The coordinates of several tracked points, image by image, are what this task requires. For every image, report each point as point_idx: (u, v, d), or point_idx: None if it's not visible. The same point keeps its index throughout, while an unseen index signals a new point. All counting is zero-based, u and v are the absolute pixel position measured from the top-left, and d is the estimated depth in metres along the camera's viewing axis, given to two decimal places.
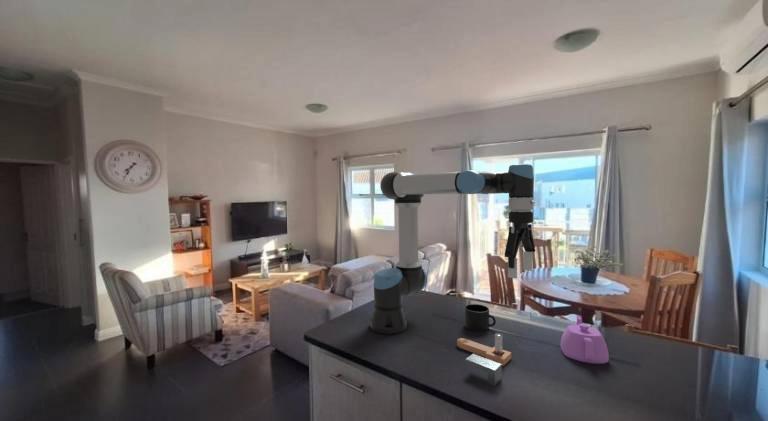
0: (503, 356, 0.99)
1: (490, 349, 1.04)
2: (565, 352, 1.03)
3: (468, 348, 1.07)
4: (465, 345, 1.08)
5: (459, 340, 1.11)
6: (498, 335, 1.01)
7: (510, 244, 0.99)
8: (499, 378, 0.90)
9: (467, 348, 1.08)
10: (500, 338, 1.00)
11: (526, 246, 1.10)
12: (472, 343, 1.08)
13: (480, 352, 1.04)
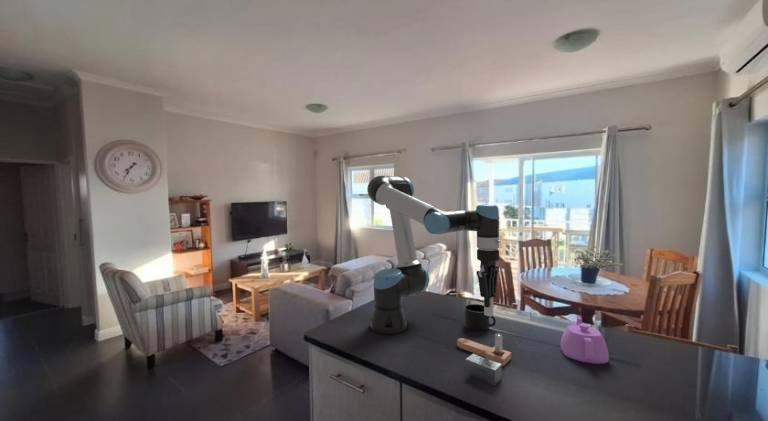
0: (503, 356, 0.99)
1: (490, 349, 1.04)
2: (565, 352, 1.03)
3: (468, 348, 1.07)
4: (465, 345, 1.08)
5: (459, 340, 1.11)
6: (498, 335, 1.01)
7: (482, 287, 1.07)
8: (499, 378, 0.90)
9: (467, 348, 1.08)
10: (500, 338, 1.00)
11: None
12: (472, 343, 1.08)
13: (480, 352, 1.04)
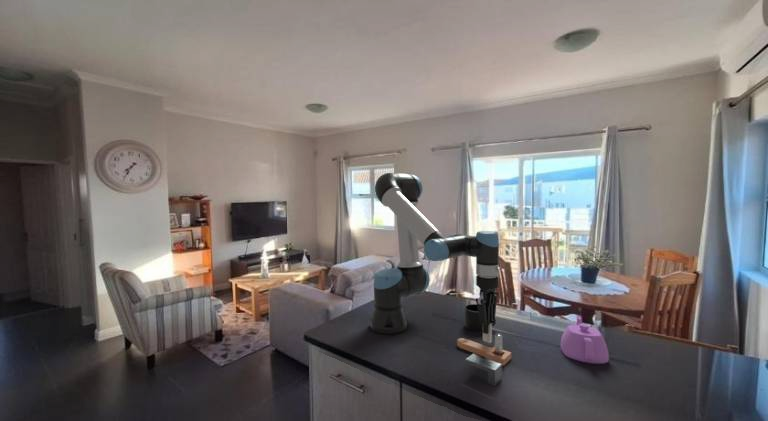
0: (503, 356, 0.99)
1: (490, 349, 1.04)
2: (565, 352, 1.03)
3: (468, 348, 1.07)
4: (465, 345, 1.08)
5: (459, 340, 1.11)
6: (498, 335, 1.01)
7: (481, 314, 1.08)
8: (499, 378, 0.90)
9: (467, 348, 1.08)
10: (500, 338, 1.00)
11: None
12: (472, 343, 1.08)
13: (480, 352, 1.04)
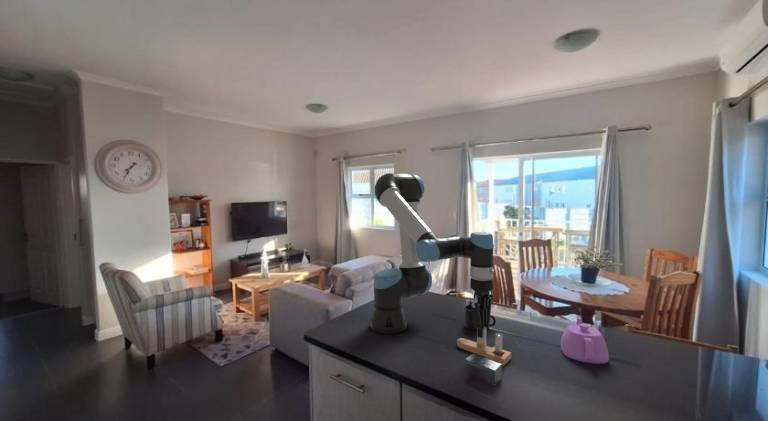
0: (503, 356, 0.99)
1: (490, 349, 1.04)
2: (565, 352, 1.03)
3: (468, 348, 1.07)
4: (465, 345, 1.08)
5: (459, 340, 1.11)
6: (498, 335, 1.01)
7: (475, 318, 1.05)
8: (499, 378, 0.90)
9: (467, 348, 1.08)
10: (500, 338, 1.00)
11: None
12: (472, 343, 1.08)
13: (480, 352, 1.04)
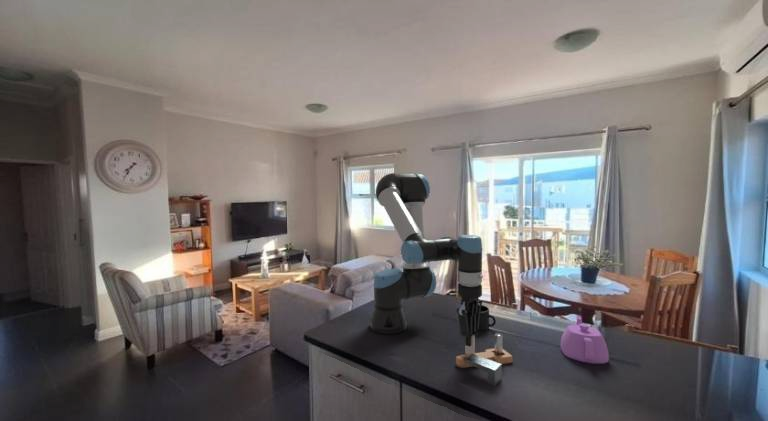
0: (506, 353, 1.01)
1: (490, 353, 1.01)
2: (565, 352, 1.03)
3: None
4: None
5: (460, 359, 0.98)
6: (498, 335, 1.01)
7: (463, 326, 0.99)
8: (499, 378, 0.90)
9: None
10: (500, 338, 1.00)
11: None
12: None
13: None
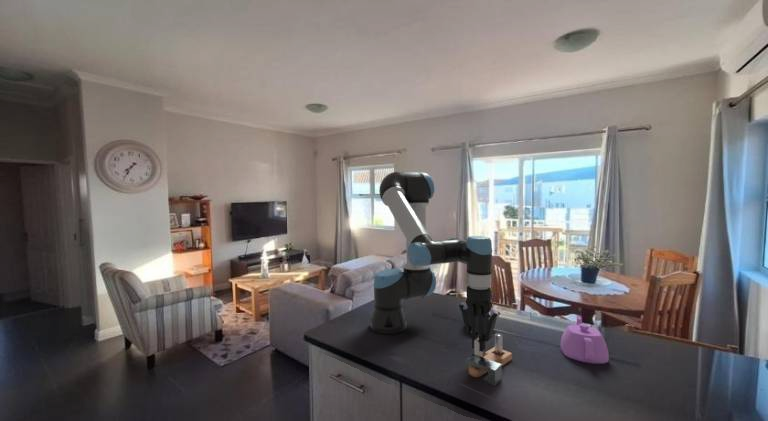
0: (505, 351, 1.02)
1: (492, 355, 1.00)
2: (565, 352, 1.03)
3: None
4: None
5: (475, 369, 0.92)
6: (498, 335, 1.01)
7: (492, 330, 0.96)
8: (499, 378, 0.90)
9: None
10: (500, 338, 1.00)
11: (476, 329, 1.00)
12: None
13: None
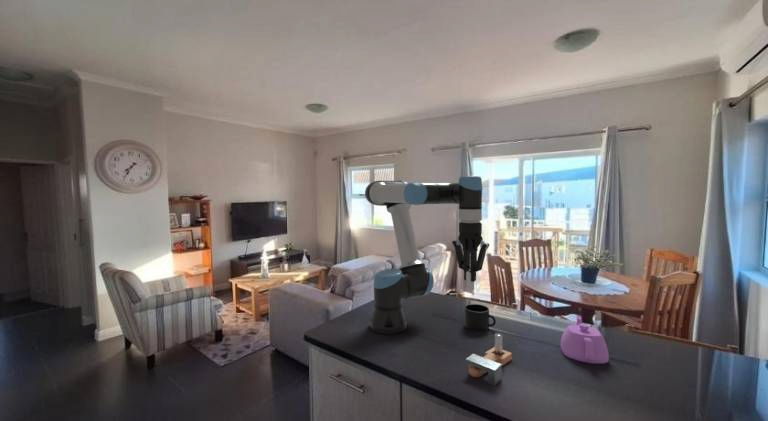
0: (505, 351, 1.02)
1: (492, 355, 1.00)
2: (565, 352, 1.03)
3: None
4: None
5: (475, 369, 0.92)
6: (498, 335, 1.01)
7: (482, 260, 1.04)
8: (499, 378, 0.90)
9: None
10: (500, 338, 1.00)
11: (468, 262, 1.08)
12: None
13: None
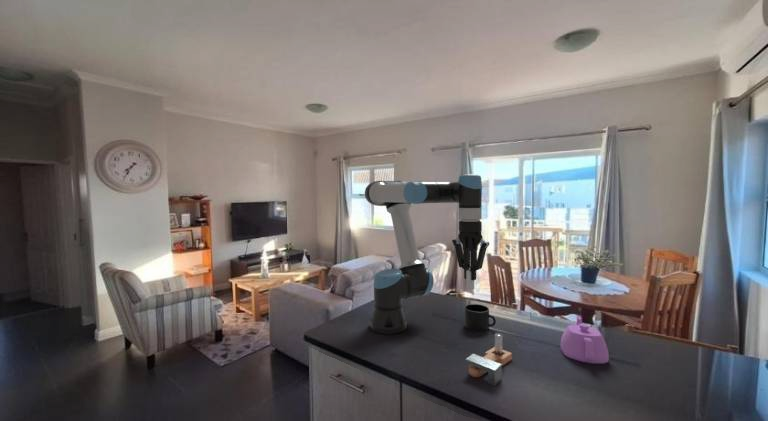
0: (505, 351, 1.02)
1: (492, 355, 1.00)
2: (565, 352, 1.03)
3: None
4: None
5: (475, 369, 0.92)
6: (498, 335, 1.01)
7: (482, 259, 1.04)
8: (499, 378, 0.90)
9: None
10: (500, 338, 1.00)
11: (468, 261, 1.08)
12: None
13: None
